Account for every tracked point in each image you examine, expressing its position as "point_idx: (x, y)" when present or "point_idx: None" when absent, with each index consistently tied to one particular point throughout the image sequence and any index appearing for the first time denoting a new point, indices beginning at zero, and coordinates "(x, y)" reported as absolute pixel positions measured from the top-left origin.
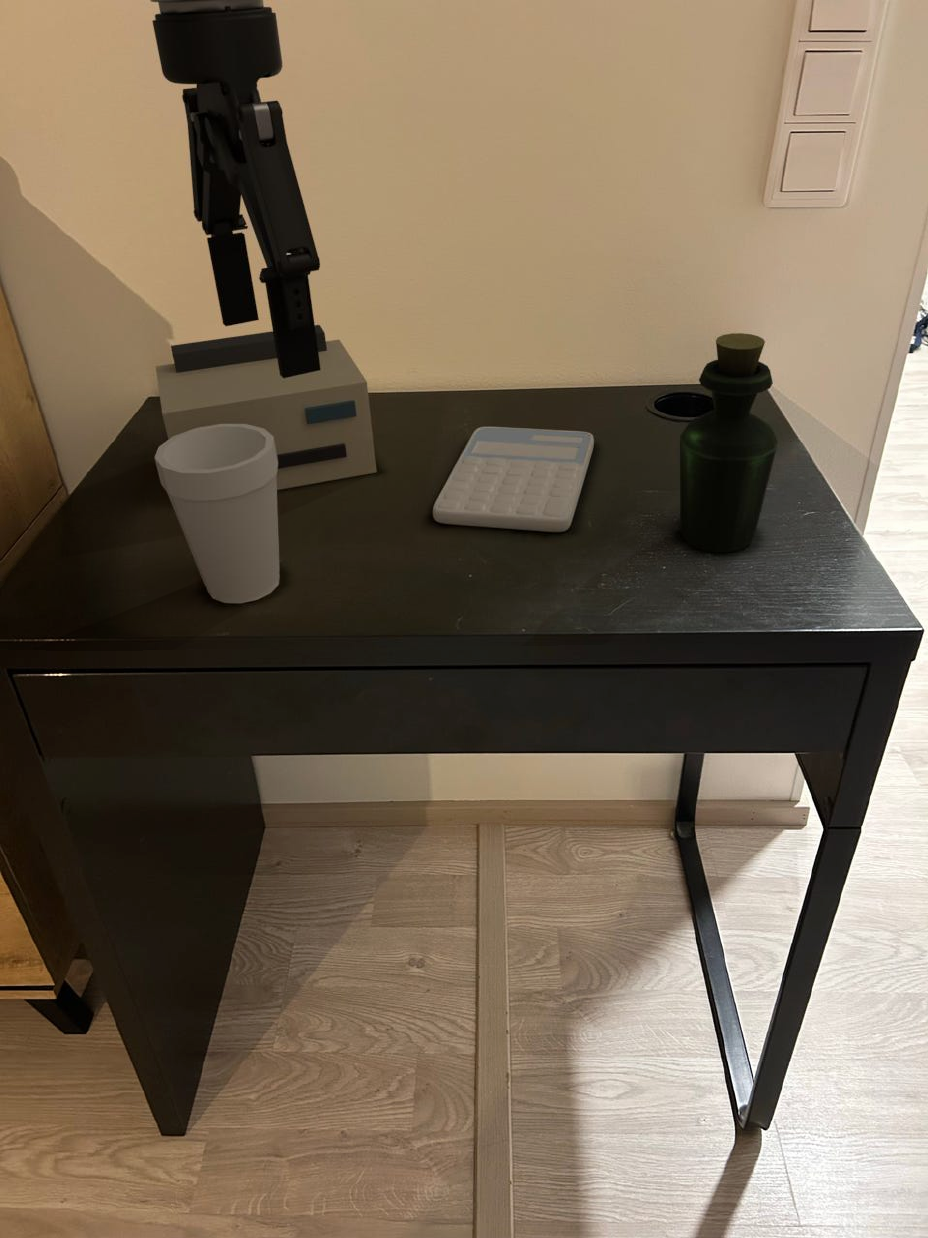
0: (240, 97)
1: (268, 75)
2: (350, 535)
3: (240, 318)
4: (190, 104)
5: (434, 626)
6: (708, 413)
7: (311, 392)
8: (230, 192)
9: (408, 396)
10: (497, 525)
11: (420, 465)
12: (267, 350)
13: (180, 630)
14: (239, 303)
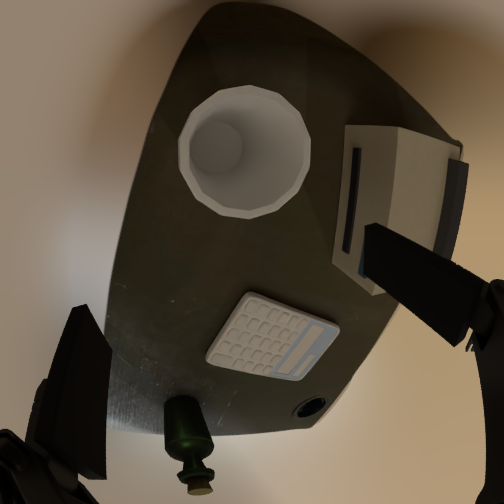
0: None
1: None
2: (254, 233)
3: (368, 252)
4: None
5: (119, 271)
6: (200, 453)
7: None
8: (497, 410)
9: None
10: (223, 326)
11: (326, 290)
12: (442, 230)
13: (169, 98)
14: (383, 264)
